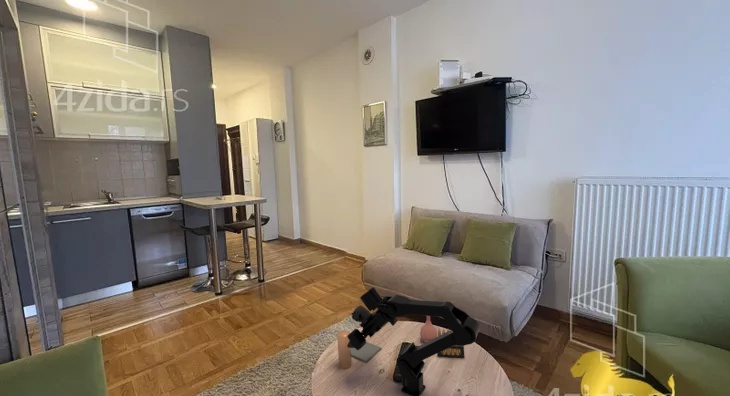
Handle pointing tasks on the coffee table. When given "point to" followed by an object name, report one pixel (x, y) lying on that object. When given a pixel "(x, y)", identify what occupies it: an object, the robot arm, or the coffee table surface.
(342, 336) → the tan domed cylinder
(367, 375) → the coffee table surface
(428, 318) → the pink bottle vase
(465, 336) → the robot arm
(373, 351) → the slate mat
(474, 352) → the coffee table surface
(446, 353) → the ammunition clip
